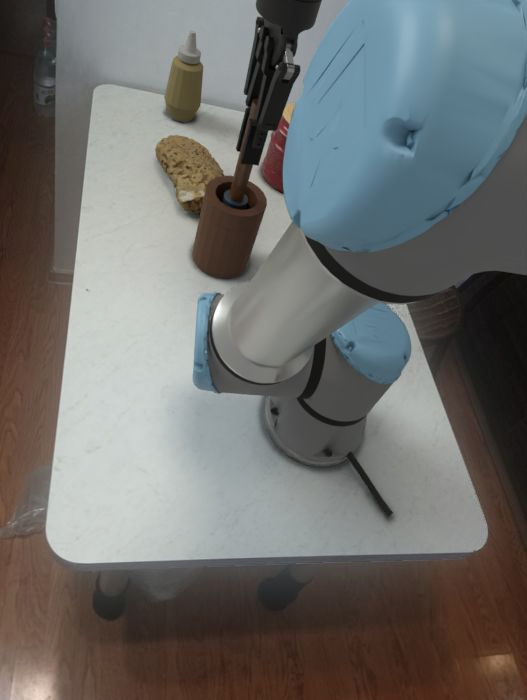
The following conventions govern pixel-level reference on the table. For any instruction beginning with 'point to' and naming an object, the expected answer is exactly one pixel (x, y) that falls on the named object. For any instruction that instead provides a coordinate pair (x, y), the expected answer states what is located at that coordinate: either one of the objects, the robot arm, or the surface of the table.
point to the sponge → (187, 169)
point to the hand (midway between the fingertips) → (247, 156)
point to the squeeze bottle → (185, 82)
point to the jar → (227, 230)
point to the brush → (240, 175)
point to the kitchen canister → (277, 151)
